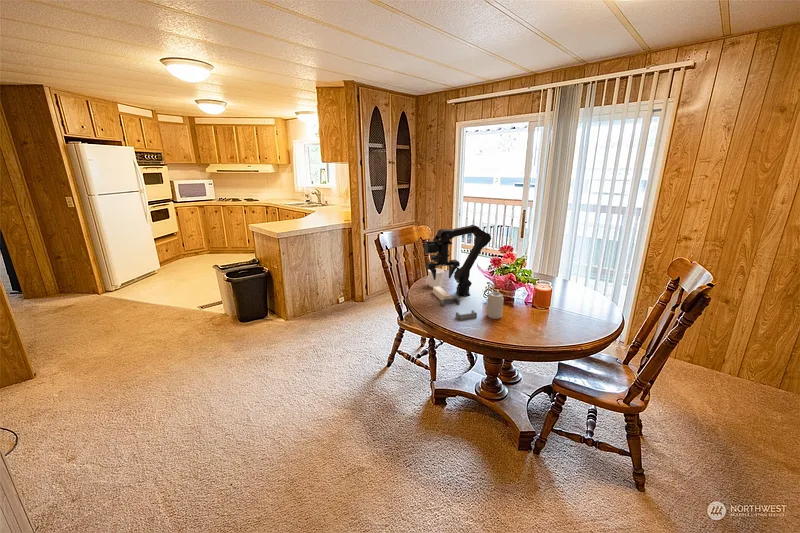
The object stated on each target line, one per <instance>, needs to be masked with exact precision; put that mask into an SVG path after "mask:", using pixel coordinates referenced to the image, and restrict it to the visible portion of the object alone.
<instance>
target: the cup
mask: <svg viewBox="0 0 800 533" xmlns="http://www.w3.org/2000/svg"><path fill="white" fill-rule="evenodd" d="M435 269H436V279H435V280H434V278H433V275H432V272H431V270H429V269H427V274H428V275H427V276H428V286H429V287H430V288H433V287H437V286H440V287H441V288H442V287H443V284H444V276H445V270H444V269H442V268H437V267H436V268H435Z"/></svg>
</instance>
